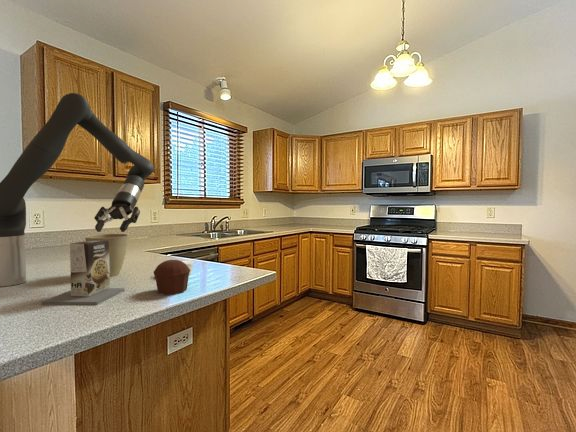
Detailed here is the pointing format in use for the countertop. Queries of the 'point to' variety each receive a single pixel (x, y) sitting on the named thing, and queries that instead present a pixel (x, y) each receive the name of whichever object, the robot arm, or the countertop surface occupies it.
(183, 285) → the muffin
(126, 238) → the plant pot
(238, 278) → the countertop surface
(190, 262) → the ramekin
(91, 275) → the coffee box
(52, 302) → the mat
